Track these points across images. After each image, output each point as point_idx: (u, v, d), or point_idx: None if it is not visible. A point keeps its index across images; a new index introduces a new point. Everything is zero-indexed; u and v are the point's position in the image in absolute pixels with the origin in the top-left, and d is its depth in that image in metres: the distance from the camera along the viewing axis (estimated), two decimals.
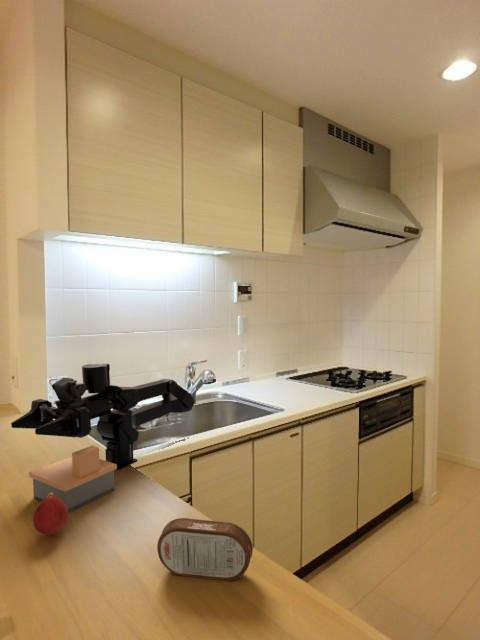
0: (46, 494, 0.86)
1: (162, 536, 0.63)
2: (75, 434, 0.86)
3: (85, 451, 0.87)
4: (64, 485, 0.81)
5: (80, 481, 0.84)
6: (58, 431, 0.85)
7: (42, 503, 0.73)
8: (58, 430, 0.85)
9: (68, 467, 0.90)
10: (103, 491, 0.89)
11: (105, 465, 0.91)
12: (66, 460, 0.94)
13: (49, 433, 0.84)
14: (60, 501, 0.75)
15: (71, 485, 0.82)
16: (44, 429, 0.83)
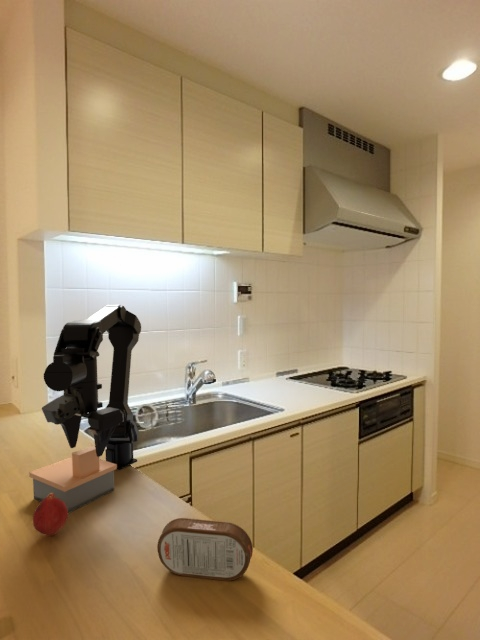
0: (46, 494, 0.86)
1: (162, 536, 0.63)
2: (117, 424, 0.84)
3: (85, 451, 0.87)
4: (64, 485, 0.81)
5: (80, 481, 0.84)
6: (107, 436, 0.85)
7: (42, 503, 0.73)
8: (106, 436, 0.84)
9: (68, 467, 0.90)
10: (103, 491, 0.89)
11: (105, 465, 0.91)
12: (66, 460, 0.94)
13: (105, 444, 0.85)
14: (60, 501, 0.75)
15: (71, 485, 0.82)
16: (100, 450, 0.84)
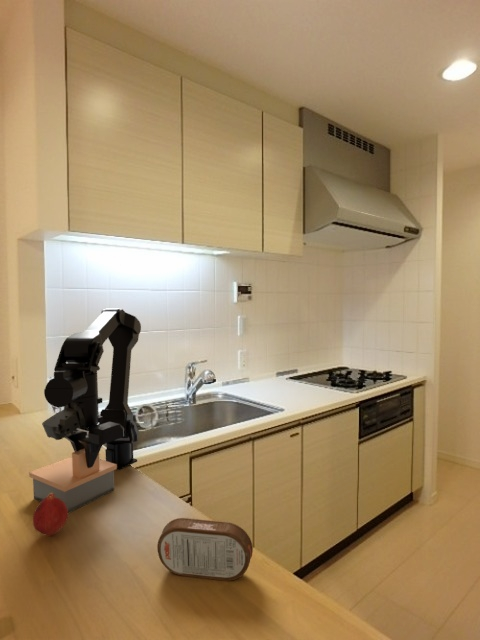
0: (46, 494, 0.86)
1: (162, 536, 0.63)
2: None
3: None
4: (64, 485, 0.81)
5: (80, 481, 0.84)
6: (97, 447, 0.86)
7: (42, 503, 0.73)
8: (96, 448, 0.86)
9: (68, 467, 0.90)
10: (103, 491, 0.89)
11: (105, 465, 0.91)
12: (66, 460, 0.94)
13: (96, 455, 0.87)
14: (60, 501, 0.75)
15: (71, 485, 0.82)
16: (90, 461, 0.86)
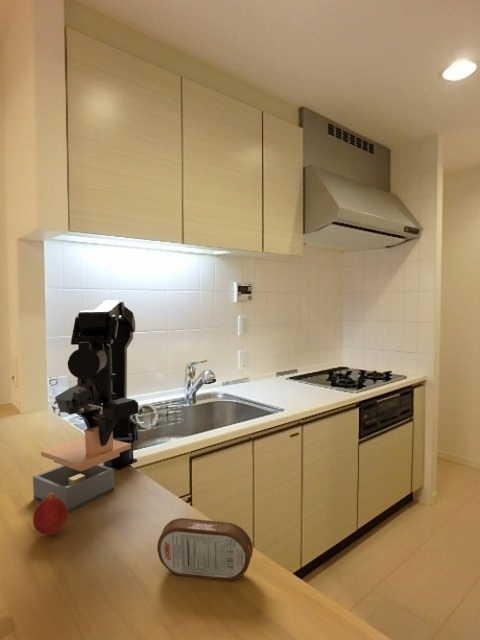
0: (46, 494, 0.86)
1: (162, 536, 0.63)
2: None
3: None
4: (77, 462, 0.79)
5: (93, 459, 0.81)
6: (111, 425, 0.84)
7: (42, 503, 0.73)
8: (110, 425, 0.83)
9: (81, 446, 0.88)
10: (103, 491, 0.89)
11: (118, 444, 0.88)
12: (79, 441, 0.91)
13: (110, 433, 0.84)
14: (60, 501, 0.75)
15: (84, 462, 0.79)
16: (104, 439, 0.83)
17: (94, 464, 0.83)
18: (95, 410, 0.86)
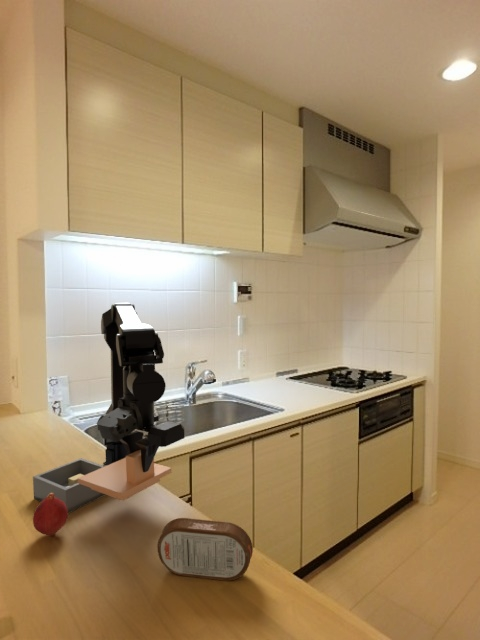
0: (46, 494, 0.86)
1: (162, 536, 0.63)
2: None
3: (140, 453, 0.79)
4: (120, 491, 0.73)
5: (136, 487, 0.76)
6: (154, 450, 0.78)
7: (42, 503, 0.73)
8: (153, 450, 0.78)
9: (119, 472, 0.82)
10: None
11: (158, 469, 0.83)
12: (115, 464, 0.86)
13: (152, 458, 0.79)
14: (60, 501, 0.75)
15: (128, 491, 0.74)
16: (147, 465, 0.78)
17: (136, 492, 0.78)
18: (135, 433, 0.80)
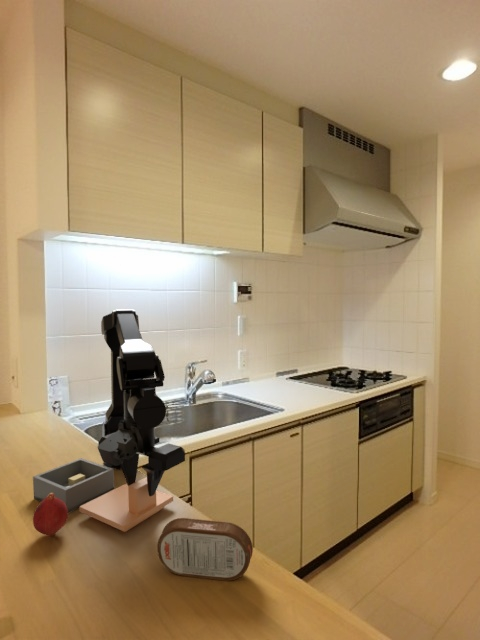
0: (46, 494, 0.86)
1: (162, 536, 0.63)
2: None
3: (142, 483, 0.79)
4: (123, 524, 0.73)
5: (138, 518, 0.76)
6: (160, 473, 0.78)
7: (42, 503, 0.73)
8: (159, 474, 0.78)
9: (121, 500, 0.82)
10: (103, 491, 0.89)
11: (160, 497, 0.83)
12: (117, 491, 0.86)
13: (158, 482, 0.78)
14: (60, 501, 0.75)
15: (130, 523, 0.74)
16: (153, 489, 0.77)
17: (138, 522, 0.78)
18: None
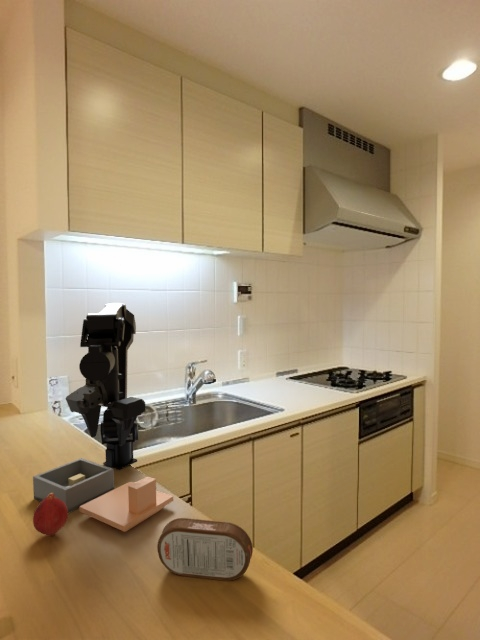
0: (46, 494, 0.86)
1: (162, 536, 0.63)
2: (140, 414, 0.85)
3: (142, 483, 0.79)
4: (123, 524, 0.73)
5: (138, 518, 0.76)
6: (129, 425, 0.86)
7: (42, 503, 0.73)
8: (128, 425, 0.86)
9: (121, 500, 0.82)
10: (103, 491, 0.89)
11: (160, 497, 0.83)
12: (117, 491, 0.86)
13: (127, 433, 0.86)
14: (60, 501, 0.75)
15: (130, 523, 0.74)
16: (122, 439, 0.85)
17: (138, 522, 0.78)
18: None
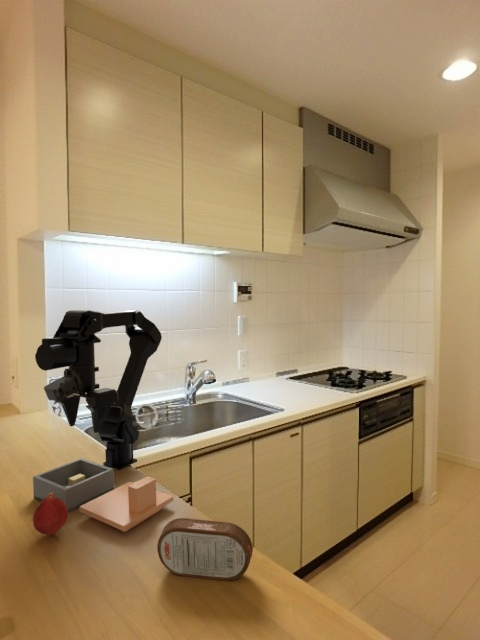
0: (46, 494, 0.86)
1: (162, 536, 0.63)
2: (113, 403, 0.92)
3: (142, 483, 0.79)
4: (123, 524, 0.73)
5: (138, 518, 0.76)
6: (103, 414, 0.93)
7: (42, 503, 0.73)
8: (102, 414, 0.93)
9: (121, 500, 0.82)
10: (103, 491, 0.89)
11: (160, 497, 0.83)
12: (117, 491, 0.86)
13: (102, 421, 0.93)
14: (60, 501, 0.75)
15: (130, 523, 0.74)
16: (97, 426, 0.92)
17: (138, 522, 0.78)
18: (72, 397, 0.98)
